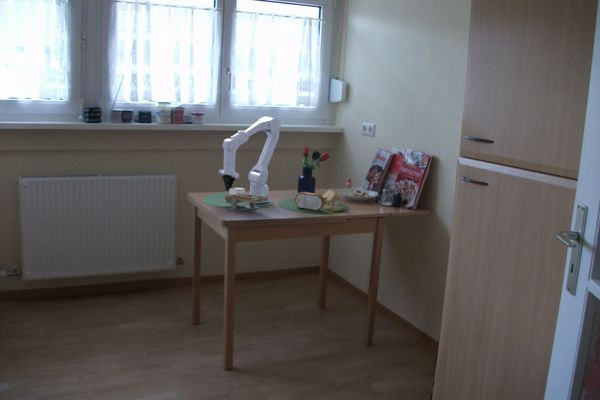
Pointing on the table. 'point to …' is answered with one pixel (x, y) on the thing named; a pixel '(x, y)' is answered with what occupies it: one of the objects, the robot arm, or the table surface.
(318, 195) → the tin
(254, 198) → the tan wooden tray
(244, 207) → the stand
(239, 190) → the block
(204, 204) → the table surface
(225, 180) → the robot arm
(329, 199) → the ceramic model
